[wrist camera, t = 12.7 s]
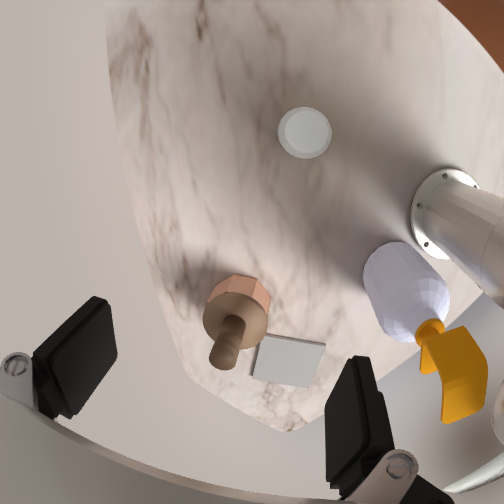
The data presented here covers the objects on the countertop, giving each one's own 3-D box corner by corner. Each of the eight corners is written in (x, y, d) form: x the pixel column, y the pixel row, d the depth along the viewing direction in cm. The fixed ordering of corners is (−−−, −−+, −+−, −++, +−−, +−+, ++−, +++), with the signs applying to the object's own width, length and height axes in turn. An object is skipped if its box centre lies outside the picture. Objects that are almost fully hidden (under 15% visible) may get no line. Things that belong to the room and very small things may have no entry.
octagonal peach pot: (274, 282, 40) (271, 300, 36) (264, 328, 44) (260, 349, 39) (217, 270, 41) (207, 287, 36) (212, 316, 44) (203, 336, 39)
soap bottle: (366, 305, 40) (409, 451, 17) (357, 248, 37) (420, 389, 14) (421, 291, 38) (496, 417, 15) (417, 233, 35) (525, 344, 12)
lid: (273, 299, 36) (267, 340, 28) (261, 350, 39) (254, 392, 32) (207, 286, 36) (186, 321, 29) (202, 337, 40) (185, 376, 32)
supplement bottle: (271, 138, 34) (263, 137, 25) (297, 104, 32) (298, 91, 23) (307, 164, 34) (312, 172, 25) (333, 131, 32) (347, 127, 23)
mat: (325, 344, 43) (325, 346, 43) (308, 385, 47) (308, 388, 46) (262, 332, 44) (262, 335, 43) (252, 376, 48) (252, 378, 47)
